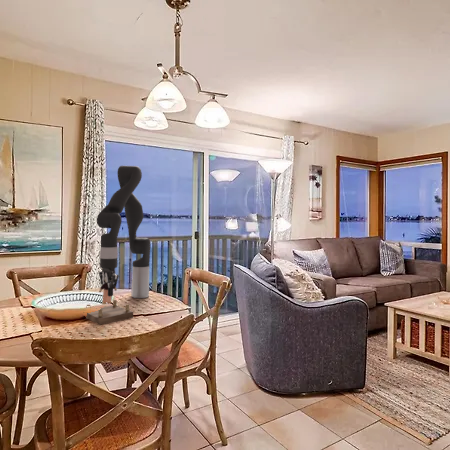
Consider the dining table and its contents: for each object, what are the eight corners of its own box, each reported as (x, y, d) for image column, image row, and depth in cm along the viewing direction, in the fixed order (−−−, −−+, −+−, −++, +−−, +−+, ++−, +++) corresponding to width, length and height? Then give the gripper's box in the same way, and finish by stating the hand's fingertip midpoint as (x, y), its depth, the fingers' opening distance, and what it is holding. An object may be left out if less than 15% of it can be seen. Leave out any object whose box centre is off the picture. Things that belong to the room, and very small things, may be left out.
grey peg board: (82, 316, 160) (82, 304, 160) (114, 310, 172) (115, 298, 172) (99, 324, 149) (100, 311, 149) (133, 317, 161) (133, 305, 161)
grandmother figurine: (101, 305, 157) (101, 276, 156) (97, 303, 159) (98, 275, 159) (117, 302, 162) (118, 275, 161) (114, 301, 164) (114, 273, 164)
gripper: (124, 257, 158) (124, 296, 158) (108, 255, 167) (108, 291, 168) (109, 259, 152) (108, 299, 153) (93, 256, 162) (92, 293, 162)
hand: (108, 295), depth 160 cm, fingers closed on grandmother figurine, 3 cm apart
